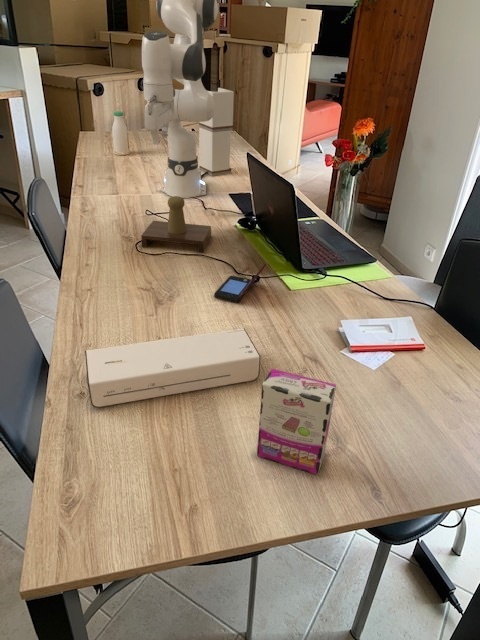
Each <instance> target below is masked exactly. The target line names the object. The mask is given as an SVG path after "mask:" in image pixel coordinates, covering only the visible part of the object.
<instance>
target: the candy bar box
mask: <svg viewBox="0 0 480 640" xmlns="http://www.w3.org/2000/svg"><path fill="white" fill-rule="evenodd" d="M336 388H337V384H335V383H332V382H328V381H323V380H319V379H316V378H312V377H307V376H303V375H300V374H297V373H292V372H287V371H284V370H280V369H276V368H270V370H269V372H268V374H267V375H266V377H265V379H264V381H263V382H262V384H261V393H260V395H261V396H260V409H259V411H260V412H259V423H258V437H257V448H256V456H257V457H259V458H262V459H265V460H268V461H272V462H275V463H277V464H280V465H283V466H288V467H291V468H294V469H298V470H300V471H304V472H307V473H310V474H313V475H315V476H318V475H319V473H320V469H321V466H322V463H323V460H324V457H325V454H326V453H325V452H326V447H327V441H328V435H329V429H330V425H331V419H332V418H331V417H332V412H333V406H334V400H335V395H336V394H335V393H336V390H337V389H336Z"/></svg>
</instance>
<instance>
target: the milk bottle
mask: <svg viewBox="0 0 480 640" xmlns="http://www.w3.org/2000/svg"><path fill="white" fill-rule="evenodd" d="M113 117H114V119H113V124H112V128H111V135H112V142H113V143H112V145H113V146H112V147H113V153H114V155H116V156H127V155H130V142H129V141H130V140H129V130H128V127H127V124H126V123H125V119H124V112H123V111H120V110H118V111H117V110H116V111H113ZM114 151H116V152H128V151H129V153H125V154H118V153H115V152H114Z"/></svg>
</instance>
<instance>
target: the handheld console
mask: <svg viewBox="0 0 480 640" xmlns="http://www.w3.org/2000/svg"><path fill="white" fill-rule="evenodd" d="M266 266H267V263H264V264H263V266H261V268H260V269H259V270H258V272H257V273H256V274H255V276H253V277H251V279H250V278H247V277H246V278H245V277H240V276H236V275H230V276H229V277H228V278H227V279H226V280H225V281H224V282H223V283H222V284H221V286H219V288H217V289H216V291H215V292H214V293H213V294H214V295H213V297H214V298H215V299H218V300H222V301H227V302H231V303H236V304H240V302H242V301H241V300H242V299H243V298H244V297H245V296H246V294H247V293H248V291H249V290H250V289H251V288H252V287H253V286H254V284H255V281H256V279H257V278H258V277H259V275H260V274H261V273H262V272H263V271H264V269H265V268H266Z"/></svg>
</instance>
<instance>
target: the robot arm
mask: <svg viewBox="0 0 480 640" xmlns="http://www.w3.org/2000/svg"><path fill="white" fill-rule="evenodd" d="M155 7H156V12H157V16H158V18H159V19H160V20H161V22H162V23H163V24H164V26H165V27H166V29H168V30H169V31H170V32H172V33H173V34H174V35H175V36H174V38H173V43H171V42H170V36H169V34H168V33H167V32H164V31H157V30H156V31H155V30H154V31H148V32H145V33H144V34H143V35H142V39H141V67H142V71H143V80H142V83H143V84H142V85H143V99H144V101H146V102H147V103H146V104H145V106H144V128H145V131H146V132H150V134H151V137H152V144H153V145H159V144H160V143H161V138H163V139H164V138H166V140H167V150H168V151H167V152H168V157H167V169H166V170H165V171H164V179H163V182H164V186H163V187H161V188H160V191H161V192H162V193H165V194H166V195H167V196H170V197H173V196H179V197H182V198H183V199H188V198H194V197H195V198H196V197H200V196H205V195H207V182H206V181H205V180H204V181H203V180H202V178H204V176H206V175H207V174H208V171H207V172H203V173H202V171H201V170H199V157H198V155H197V138H196V136H195V135H194V134H193V133H192V132H191V131H189V130H187V129H186V128H185V127H184V126H183V123H182V122H187V123H199V122H205V121H209V120H210V119H211V118H212V117H213V115H214V113H215V102H214V99H213V97H212V96H211V95H210V94H209V93H208V92H207V91H208V90H207V89H206V88H205V86H204V84H203V82H202V77H203V76H204V75H205V72H206V66H207V65H206V64H207V63H206V62H207V61H206V55H205V48H204V43H205V42H204V33H206V32H207V31H208V29H210V28H211V27H212V26H213V25H214V24H215V22H216V20H217V17H218V15H219V5H218V1H217V0H156V3H155ZM173 80H176V81H177V82H179V83H180V84H182V85H183V89H182V88H181V89H176V88H174V84H173V83H174V81H173ZM206 90H207V91H206ZM160 130H161V132H159V131H160ZM159 133H161V138H160V136H159ZM208 175H209V174H208Z"/></svg>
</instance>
